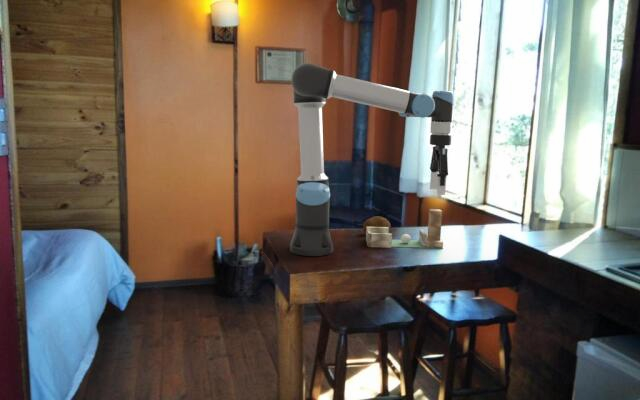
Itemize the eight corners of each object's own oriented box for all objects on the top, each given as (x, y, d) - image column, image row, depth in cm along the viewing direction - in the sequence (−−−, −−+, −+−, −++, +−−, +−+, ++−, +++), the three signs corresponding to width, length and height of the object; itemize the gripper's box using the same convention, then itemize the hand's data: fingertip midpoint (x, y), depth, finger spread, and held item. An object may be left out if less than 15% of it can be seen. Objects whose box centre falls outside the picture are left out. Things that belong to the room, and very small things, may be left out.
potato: (358, 234, 209) (358, 215, 208) (382, 231, 216) (383, 213, 214) (370, 238, 202) (371, 219, 201) (394, 235, 209) (395, 216, 208)
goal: (367, 246, 189) (368, 233, 189) (365, 239, 201) (366, 226, 200) (391, 247, 189) (392, 234, 188) (387, 239, 201) (388, 227, 200)
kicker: (437, 240, 200) (439, 208, 198) (442, 247, 190) (445, 212, 188) (418, 239, 200) (420, 207, 198) (423, 246, 190) (425, 212, 188)
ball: (401, 244, 193) (401, 235, 193) (400, 242, 197) (400, 232, 196) (410, 244, 193) (411, 235, 193) (409, 242, 197) (410, 233, 196)
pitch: (372, 246, 190) (372, 245, 190) (369, 239, 201) (369, 238, 201) (442, 248, 190) (442, 247, 190) (437, 241, 200) (437, 240, 200)
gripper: (459, 135, 176) (455, 197, 179) (443, 133, 200) (440, 187, 204) (437, 135, 176) (433, 196, 179) (424, 132, 200) (421, 186, 204)
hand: (437, 191), depth 192 cm, fingers open, 13 cm apart
